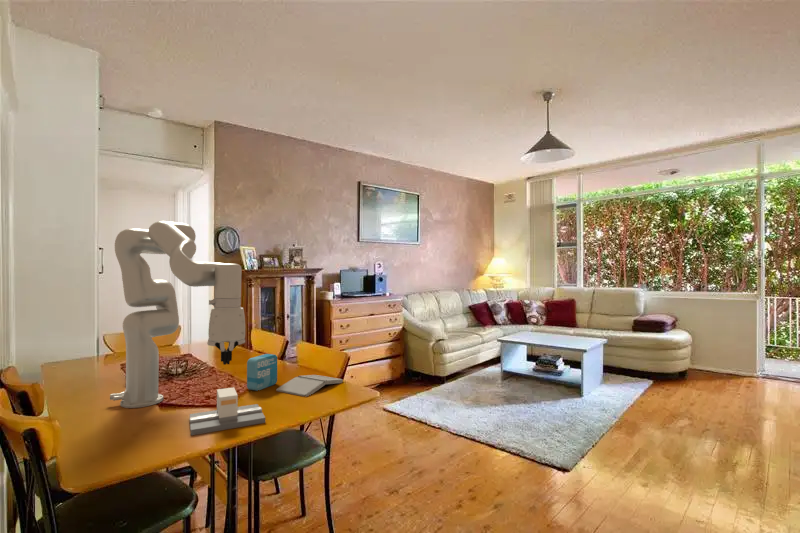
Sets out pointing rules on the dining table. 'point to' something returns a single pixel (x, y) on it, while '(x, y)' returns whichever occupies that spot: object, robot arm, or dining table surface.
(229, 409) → the module
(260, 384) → the data package
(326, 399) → the dining table surface
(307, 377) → the grey bent flat piece
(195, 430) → the rail board
